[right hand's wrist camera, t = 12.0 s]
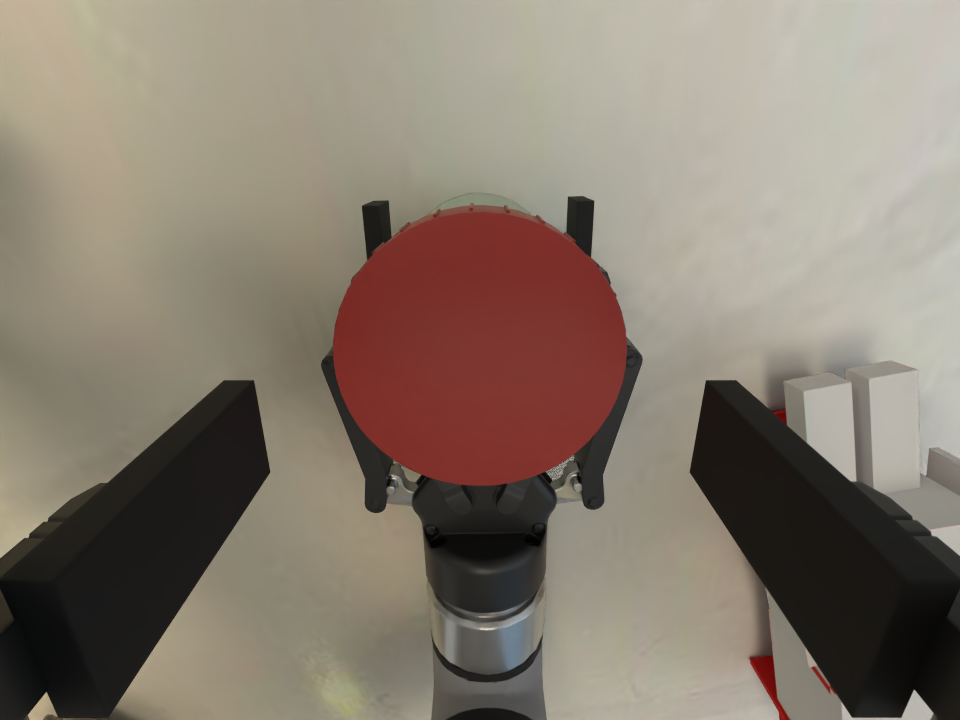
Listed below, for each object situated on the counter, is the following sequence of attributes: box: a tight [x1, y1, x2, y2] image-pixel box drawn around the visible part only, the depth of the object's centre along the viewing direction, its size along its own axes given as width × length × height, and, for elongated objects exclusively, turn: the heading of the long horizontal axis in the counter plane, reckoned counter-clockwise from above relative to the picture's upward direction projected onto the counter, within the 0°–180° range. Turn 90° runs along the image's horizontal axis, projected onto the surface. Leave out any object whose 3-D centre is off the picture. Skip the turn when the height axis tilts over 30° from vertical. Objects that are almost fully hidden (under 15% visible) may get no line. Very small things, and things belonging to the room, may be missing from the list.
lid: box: [333, 203, 627, 486], centre depth 19 cm, size 10×10×2 cm
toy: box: [750, 361, 960, 720], centre depth 35 cm, size 12×13×30 cm
